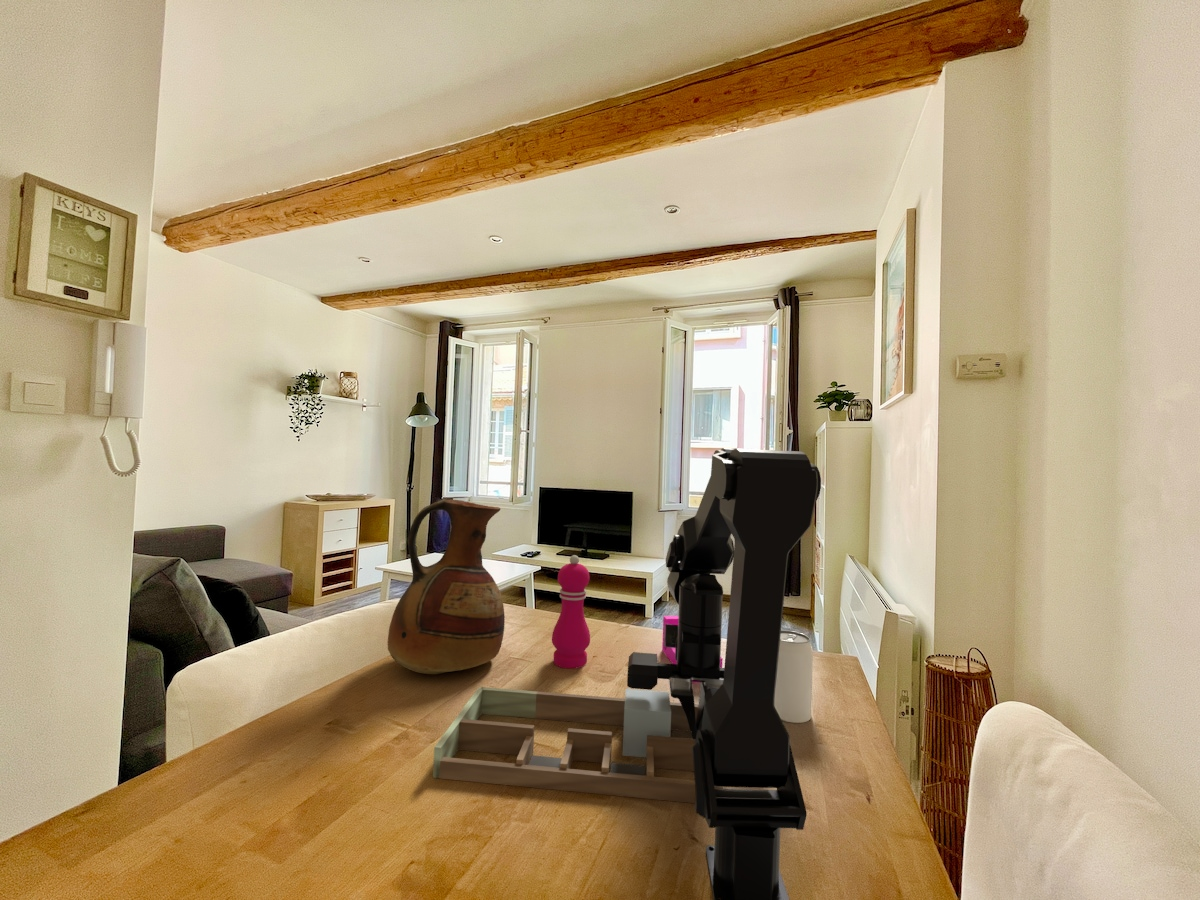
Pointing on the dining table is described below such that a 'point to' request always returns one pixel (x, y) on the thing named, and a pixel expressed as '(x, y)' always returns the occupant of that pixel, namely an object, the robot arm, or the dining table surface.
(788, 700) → the can
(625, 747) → the cube
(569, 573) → the pepper mill
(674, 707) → the wooden compartment tray
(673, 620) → the toy block
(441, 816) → the dining table surface
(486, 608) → the ceramic pitcher
